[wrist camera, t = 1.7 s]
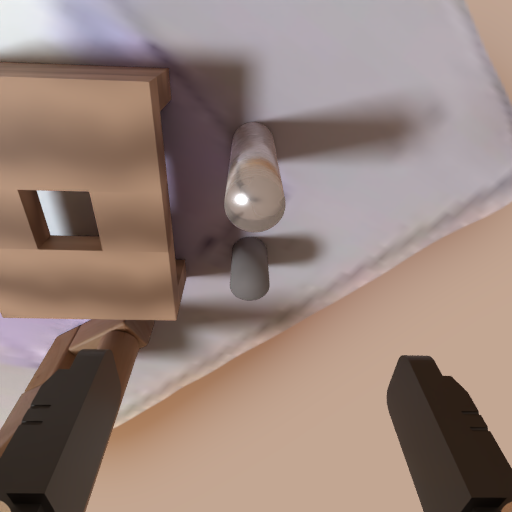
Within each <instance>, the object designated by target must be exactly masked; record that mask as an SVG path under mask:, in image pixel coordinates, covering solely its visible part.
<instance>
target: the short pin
mask: <svg viewBox="0 0 512 512" xmlns="http://www.w3.org/2000/svg"><path fill="white" fill-rule="evenodd" d="M230 289H231V291H232V293H233V294H234V295H235V296H236V297H238V298H240V299H242V300H247V301H252V300H257V299H260V298H261V297H263V296H264V295H265V294H266V293H267V292H268V290H269V271H268V257H267V248H266V246H265V244H264V243H263V242H262V241H261V240H259V239H257V238H254V237H245V238H242V239H240V240H238V241H237V242H236V243H235V245H234V246H233V250H232V263H231V277H230Z"/></svg>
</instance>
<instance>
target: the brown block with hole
mask: <svg viewBox="0 0 512 512" xmlns="http://www.w3.org/2000/svg"><path fill="white" fill-rule="evenodd" d="M170 100H171V89H170V77H169V68H147V67H121V66H94V65H68V64H41V63H15V62H0V312H1V314H2V317H3V318H53V319H114V320H175V321H176V319H177V315H178V311H179V306H180V302H181V298H182V294H183V290H184V285H185V281H186V265H185V260H175V251H174V242H173V232H172V222H171V213H170V203H169V193H168V183H167V174H166V164H165V154H164V144H163V135H162V125H161V115H160V111H161V110H162V109H163V108H164V107H165V106H166V105H167V103H168V102H169V101H170ZM36 190H48V191H85V192H89V193H90V198H91V202H92V206H93V211H94V215H95V219H96V224H97V228H98V232H99V237H96V236H53V235H50V232H49V229H48V226H47V223H46V220H45V216H44V213H43V210H42V207H41V204H40V201H39V197H38V194H37V191H36Z"/></svg>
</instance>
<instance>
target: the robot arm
mask: <svg viewBox="0 0 512 512" xmlns="http://www.w3.org/2000/svg"><path fill="white" fill-rule="evenodd" d="M120 398H121V384H120V379H119V375H118V371H117V368H116V364H115V360H114V356H113V352H112V351H111V350H110V349H82V350H80V351H79V352H78V354H77V355H76V357H75V359H74V361H73V363H72V365H71V367H70V369H58V370H57V371H56V372H55V373H54V374H53V375H52V376H51V377H50V378H49V379H48V380H46V381H45V382H44V383H43V384H42V385H41V387H40V389H39V390H38V392H37V394H36V396H35V397H34V399H33V401H32V403H31V407H30V409H28V410H27V412H26V413H25V415H24V417H23V419H22V422H21V425H19V426H18V428H17V429H16V431H15V433H14V435H13V437H12V438H11V440H10V442H9V444H8V445H7V447H6V449H5V451H4V452H3V454H2V456H1V458H0V512H84V509H85V506H86V503H87V500H88V497H89V494H90V491H91V488H92V485H93V482H94V479H95V476H96V473H97V470H98V467H99V464H100V461H101V458H102V455H103V452H104V449H105V446H106V443H107V440H108V437H109V434H110V431H111V428H112V425H113V422H114V419H115V417H116V414H117V411H118V407H119V404H120ZM387 405H388V410H389V413H390V416H391V419H392V422H393V425H394V427H395V431H396V433H397V436H398V439H399V442H400V445H401V448H402V451H403V453H404V456H405V459H406V462H407V465H408V467H409V471H410V473H411V476H412V479H413V482H414V485H415V488H416V491H417V494H418V496H419V499H420V502H421V505H422V507H423V511H424V512H512V468H511V467H510V465H509V463H508V462H507V460H506V458H505V456H504V455H503V453H502V451H501V450H500V448H499V446H498V444H497V442H496V441H495V439H494V437H493V435H492V434H491V432H490V431H488V428H487V425H486V423H485V422H484V420H483V418H482V417H481V415H479V413H478V410H477V408H476V406H475V404H474V403H473V401H472V399H471V398H470V396H469V394H468V392H467V391H466V390H465V389H464V388H463V387H462V386H461V385H460V384H459V383H457V382H456V381H455V380H454V379H453V378H452V377H451V376H442V374H441V372H440V370H439V369H438V367H437V365H436V363H435V361H434V360H433V359H432V358H431V357H430V356H407V355H404V356H401V357H400V358H399V360H398V362H397V365H396V368H395V370H394V374H393V376H392V379H391V381H390V384H389V387H388V390H387Z"/></svg>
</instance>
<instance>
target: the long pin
mask: <svg viewBox="0 0 512 512" xmlns="http://www.w3.org/2000/svg"><path fill="white" fill-rule="evenodd" d="M224 209H225V213H226V215H227V217H228V219H229V220H230V221H231V223H232V224H233V225H235V226H236V227H238V228H239V229H241V230H244V231H248V232H262V231H265V230H268V229H270V228H272V227H273V226H275V225H276V224H277V223H278V222H279V221H280V219H281V218H282V216H283V214H284V211H285V197H284V192H283V187H282V181H281V176H280V171H279V166H278V160H277V155H276V150H275V144H274V139H273V135H272V133H271V131H270V130H269V129H268V128H267V127H266V126H265V125H263V124H261V123H258V122H248V123H245V124H243V125H242V126H240V127H239V128H238V129H237V130H236V132H235V134H234V136H233V141H232V148H231V155H230V163H229V170H228V178H227V185H226V193H225V200H224Z"/></svg>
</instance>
